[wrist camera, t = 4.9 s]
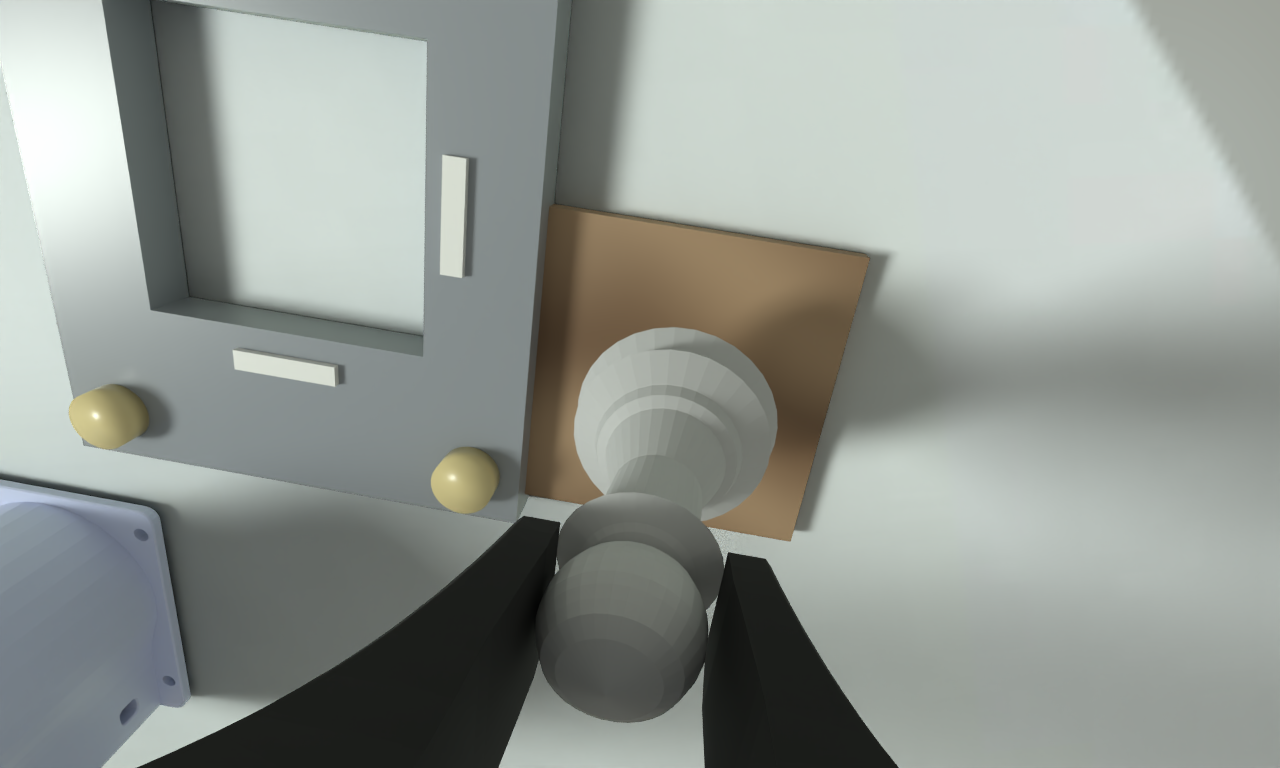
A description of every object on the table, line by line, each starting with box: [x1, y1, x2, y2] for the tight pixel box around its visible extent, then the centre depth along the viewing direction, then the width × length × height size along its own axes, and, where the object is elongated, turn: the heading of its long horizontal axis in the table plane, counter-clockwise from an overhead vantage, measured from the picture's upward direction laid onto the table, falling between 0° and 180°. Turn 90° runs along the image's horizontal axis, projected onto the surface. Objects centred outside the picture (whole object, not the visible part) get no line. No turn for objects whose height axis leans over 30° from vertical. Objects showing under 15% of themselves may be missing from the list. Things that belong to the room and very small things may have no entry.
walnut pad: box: [525, 204, 870, 542], centre depth 19 cm, size 9×9×1 cm
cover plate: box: [0, 0, 572, 523], centre depth 17 cm, size 18×14×2 cm
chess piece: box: [535, 327, 778, 723], centre depth 12 cm, size 5×5×8 cm
